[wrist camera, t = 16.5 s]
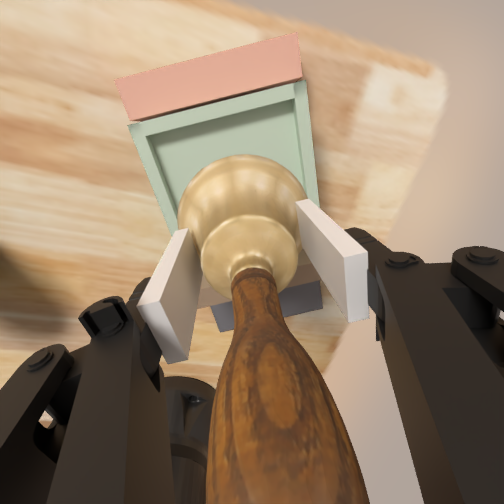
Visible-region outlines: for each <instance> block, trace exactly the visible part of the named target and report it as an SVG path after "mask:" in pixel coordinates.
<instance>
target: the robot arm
mask: <svg viewBox="0 0 504 504" xmlns="http://www.w3.org/2000/svg"><path fill="white" fill-rule="evenodd" d="M295 205H296V211H297V218H298V224H299V231H300V237H301V244H302V247H303V249H304V251H305V252H306V254H307V256H308V257H309V259H310V261H311V262H312V264H313V266H314V267H315V269H316V270H317V272H318V274H319V275H320V277H321V279H322V280H323V282H324V284H325V285H326V287H327V289H328V290H329V292H330V294H331V295H332V297H333V298H334V300H335V302H336V303H337V305H338V307H339V308H340V310H341V312H342V313H343V315H344V317H345V318H346V320H347V322H348V323H351V322H355V321H359V320H364V319H368V318H369V306H370V307H371V308H372V310H373V311H374V312H375V314H376V341H381V345H382V349H383V352H384V356H385V360H386V363H387V367H388V371H389V375H390V378H391V382H392V386H393V390H394V393H395V397H396V400H397V404H398V408H399V412H400V415H401V419H402V423H403V427H404V430H405V434H406V438H407V441H408V445H409V449H410V452H411V456H412V460H413V464H414V467H415V471H416V475H417V478H418V482H419V486H420V489H421V493H422V497H423V501H424V504H504V320H503V319H501V318H500V317H499V315H500V311H501V310H502V311H503V312H504V252H503V251H500V250H497V249H492V248H488V247H484V246H480V247H479V246H472V247H464V248H461V249H458V250H456V251H455V252H454V253H453V256H452V263H431V264H429V263H424V261H423V260H422V259H421V258H420V257H418V256H416V255H414V254H411V253H406V252H392V251H391V250H390V249H388V248H387V247H386V246H384V245H383V244H382V243H381V242H379V241H377V239H375V238H374V237H373V236H371V235H370V234H369V233H368V232H366V231H365V230H362V229H358V228H355V227H354V228H350V229H346V230H343V229H342V228H341V227H340V226H339V225H338V224H336V223H335V222H334V221H333V220H332V219H331V218H330V217H329V216H328V215H327V214H325V213H324V212H323V211H322V210H321V209H320V208H319V207H318V206H317V205H315V204H314V203H313V202H312V201H311V200H310V199H305V200H301V201H297V202H295ZM202 277H203V271H202V268H201V261H200V258H199V255H198V253H197V250H196V247H195V244H194V241H193V239H192V236H191V233H190V230H189V228H186V229H181V230H177V231H175V232H174V234H173V236H172V238H171V240H170V242H169V244H168V246H167V248H166V250H165V252H164V254H163V256H162V258H161V259H160V261H159V263H158V265H157V267H156V269H155V271H154V273H153V275H152V277H148V278H145V279H144V280H142V281H141V282H140V283H139V284H138V285H137V286H136V288H135V290H134V291H133V294H132V295H131V297H130V298H129V301H128V302H127V303H126V304H125V303H124V301H123V299H122V298H121V297H119V296H111V297H108V298H104V299H102V300H100V301H98V302H96V303H94V304H92V305H91V306H89V307H88V308H87V309H85V310H84V311H83V312H82V313H81V315H80V316H79V318H78V319H79V321H80V322H81V323H82V325H83V326H84V328H85V329H86V331H87V332H88V334H89V335H90V336H91V342H90V344H88V345H86V346H84V347H82V348H79V349H77V350H75V351H73V352H70V353H69V351H68V350H67V349H66V347H65V346H64V345H61V344H55V345H51V346H48V347H46V348H43V349H41V350H40V351H37V352H35V353H34V354H33V355H32V356H31V357H29V358H28V359H27V360H26V361H25V362H24V363H23V364H22V365H21V366H20V367H19V368H18V369H17V370H16V371H15V373H14V374H13V375H12V376H11V377H10V379H9V380H8V381H7V382H6V384H5V385H4V386H3V387H2V388H1V390H0V504H206V476H207V458H208V441H209V432H210V423H211V414H212V408H213V402H214V397H215V393H216V391H215V390H214V389H213V388H212V387H211V386H209V385H207V384H206V383H204V382H201V381H199V380H196V379H192V378H187V377H165V378H164V373H163V370H162V368H161V366H160V365H159V362H160V358H161V355H163V357H164V358H165V360H166V362H167V364H172V363H176V362H180V361H185V360H188V356H189V350H190V345H191V339H192V333H193V328H194V322H195V316H196V311H197V305H198V299H199V294H200V288H201V282H202ZM44 411H46V412H47V413H48V414H49V415H50V416H51V417H52V418H53V421H52V423H51V424H50V426H49V427H48V428H45V427H43V425H41V424H40V422H39V419H40V417H41V416H42V414H43V412H44Z"/></svg>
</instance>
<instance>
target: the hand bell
mask: <svg viewBox="0 0 504 504" xmlns="http://www.w3.org/2000/svg"><path fill="white" fill-rule="evenodd" d="M305 199H308V197H307V195H306V193H305V190H304V188H303V186H302V185H301V183H300V182H299V181H298V179H297V178H296V177H295V176H294V175H293V174H292V173H291V172H290V171H289V170H288V169H287V168H285V167H284V166H282V165H281V164H279V163H277V162H276V161H273V160H271V159H269V158H266V157H262V156H258V155H250V154H241V155H233V156H228V157H225V158H222V159H219V160H216V161H214V162H212V163H210V164H209V165H207V166H206V167H204V168H202V169H201V170H200V171H199V172H198V173H197V174H196V175H195V176H194V177H193V178H192V179H191V181H190V182H189V184H188V185H187V187H186V188H185V190H184V192H183V194H182V197H181V199H180V202H179V207H178V214H177V223H178V230H181V229H186V228H189V230H190V233H191V236H192V239H193V241H194V244H195V247H196V250H197V253H198V255H199V258H200V261H201V268H202V271H203V274H204V276H205V279H206V281H207V282H208V283H209V285H210V286H211V287H212V288H213V289H214V290H215V291H216V292H217V293H219V294H220V295H222V296H223V297H225V298H227V299H230V300H232V303H233V313H234V335H233V339H232V343H231V346H230V348H229V350H228V353H227V355H226V358H225V360H224V363H223V366H222V369H221V372H220V375H219V379H218V383H217V388H216V393H215V397H214V402H213V408H212V414H211V423H210V432H209V441H208V458H207V476H206V504H370V502H369V498H368V494H367V491H366V487H365V483H364V479H363V476H362V473H361V469H360V466H359V463H358V460H357V457H356V454H355V451H354V449H353V446H352V443H351V441H350V438H349V435H348V432H347V430H346V427H345V425H344V422H343V419H342V417H341V415H340V413H339V410H338V408H337V406H336V404H335V402H334V399H333V397H332V395H331V393H330V391H329V389H328V387H327V385H326V383H325V381H324V379H323V377H322V375H321V373H320V372H319V370H318V369H317V367H316V365H315V364H314V362H313V361H312V359H311V358H310V356H309V355H308V354H307V352H306V351H305V349H304V348H303V347H302V346H301V345H300V343H299V342H298V341H297V340H296V339H295V337H294V336H293V335H292V334H291V332H290V331H289V329H288V327H287V325H286V323H285V321H284V318H283V314H282V310H281V306H280V301H279V297H278V293H280V292H281V291H282V290H283V289H284V288H285V287H286V286H288V284H289V283H290V281H291V280H292V278H293V276H294V274H295V272H296V269H297V264H298V255H299V253H300V252H301V250H302V248H303V247H302V244H301V237H300V231H299V224H298V218H297V211H296V205H295V202H297V201H301V200H305Z"/></svg>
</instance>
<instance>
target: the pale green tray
mask: <svg viewBox="0 0 504 504" xmlns="http://www.w3.org/2000/svg"><path fill="white" fill-rule="evenodd" d="M127 126H128V128H129V131H130V133H131V136H132V138H133V141H134V143H135V146H136V148H137V151H138V153H139V156H140V158H141V161H142V163H143V166H144V168H145V171H146V173H147V176H148V178H149V181H150V183H151V186H152V188H153V191H154V193H155V196H156V198H157V201H158V203H159V206H160V208H161V211H162V213H163V216H164V218H165V221H166V223H167V226H168V228H169V231H170V233H171V236H173V234H174V232H175V231H177V230H178V223H177V214H178V207H179V202H180V199H181V197H182V194H183V192H184V190H185V188H186V187H187V185H188V184H189V182H190V181H191V179H192V178H193V177H194V176H195V175H196V174H197V173H198V172H199V171H200V170H201V169H202V168H204V167H206V166H207V165H209V164H210V163H212V162H214V161H216V160H219V159H222V158H225V157H228V156H233V155H241V154H250V155H258V156H262V157H266V158H269V159H271V160H273V161H276V162H277V163H279V164H281V165H282V166H284V167H285V168H287V169H288V170H289V171H290V172H291V173H292V174H293V175H294V176H295V177H296V178H297V179H298V181H299V182H300V183H301V185H302V186H303V188H304V190H305V193H306V195H307V197H308V199H310V200H311V201H312V202H313V203H314V204H315V205H317V206H318V207H319V208H320V205H319V196H318V187H317V178H316V169H315V160H314V151H313V141H312V132H311V123H310V114H309V105H308V96H307V87H306V80H303V81H299V82H295V83H291V84H287V85H283V86H279V87H276V88H272V89H268V90H264V91H260V92H256V93H252V94H248V95H244V96H240V97H236V98H232V99H229V100H225V101H221V102H217V103H213V104H209V105H205V106H201V107H197V108H193V109H189V110H186V111H182V112H178V113H174V114H170V115H166V116H162V117H158V118H154V119H150V120H146V121H143V122H139V123H135V124H131V125H127ZM318 280H322V279H321V277H320V275H319V274H318V272H317V270H316V269H315V267H314V266H313V264H312V262H311V261H310V259H309V257H308V256H307V254H306V252H305V251H304V249H303V248H302V250H301V252H300V253H299V255H298V264H297V269H296V272H295V274H294V276H293V278H292V280H291V281H290V283H289V284H288V286H286V287H285V288H289V287H293V286H297V285H301V284H306V283H310V282H314V281H318ZM229 301H232V300H230V299H227V298H225V297H223V296H222V295H220V294H219V293H217V292H216V291H215V290H214V289H213V288H212V287H211V286H210V285H209V283H208V282H207V281H206V279H205V276H204V274H203V277H202V282H201V288H200V294H199V299H198V305H197V309H200V308H204V307H208V306H212V305H217V304H221V303H225V302H229Z"/></svg>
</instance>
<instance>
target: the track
mask: <svg viewBox="0 0 504 504" xmlns="http://www.w3.org/2000/svg"><path fill="white" fill-rule="evenodd" d="M301 77H302V68H301V60H300V51H299V42H298V33H297V32H295V33H291V34H287V35H283V36H280V37H276V38H272V39H268V40H264V41H260V42H257V43H253V44H249V45H245V46H241V47H237V48H234V49H230V50H226V51H222V52H218V53H214V54H211V55H207V56H203V57H199V58H195V59H191V60H187V61H184V62H180V63H176V64H172V65H168V66H164V67H161V68H157V69H153V70H149V71H145V72H141V73H138V74H134V75H130V76H126V77H122V78H118V79H115V80H114V81H115V84H116V86H117V89H118V91H119V94H120V96H121V99H122V101H123V104H124V107H125V109H126V112H127V114H128V117H129V119H130V121H140V122H143V121H146V120H150V119H154V118H158V117H162V116H166V115H170V114H174V113H178V112H182V111H186V110H189V109H193V108H197V107H201V106H205V105H209V104H213V103H217V102H221V101H225V100H229V99H232V98H236V97H240V96H244V95H248V94H252V93H256V92H260V91H264V90H268V89H272V88H276V87H279V86H283V85H287V84H291V83H294V82H295V81H297V80H298V79H300V78H301ZM278 297H279V301H280V306H281V310H282V314H283V317H288V316H292V315H296V314H301V313H305V312H309V311H313V310H318V309H322V308H323V305H322V298H321V290H320V282H319V280H318V281H314V282H310V283H306V284H301V285H297V286H293V287H289V288H284V289H283V290H282V291H281V292H280V293H278ZM210 307H211V309H212V312H213V315H214V317H215V320H216V323H217V325H218V328H219V331H220V332H224V331H228V330H232V329H234V313H233V303H232V301H229V302H225V303H221V304H217V305H212V306H210Z"/></svg>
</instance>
